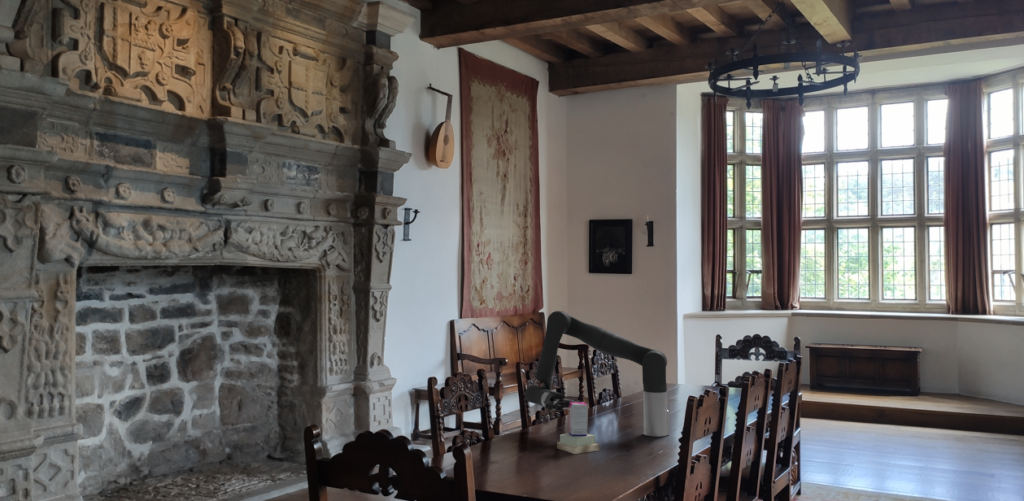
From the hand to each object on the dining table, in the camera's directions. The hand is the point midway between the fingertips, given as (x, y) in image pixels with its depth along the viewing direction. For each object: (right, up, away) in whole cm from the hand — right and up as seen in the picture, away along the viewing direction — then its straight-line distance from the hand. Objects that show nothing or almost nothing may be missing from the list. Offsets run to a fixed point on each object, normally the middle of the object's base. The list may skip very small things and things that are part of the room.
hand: (570, 407), depth 288 cm
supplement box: (+2, -9, -6) cm, 11 cm away
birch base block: (+2, -15, -7) cm, 16 cm away
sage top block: (+2, -12, -7) cm, 14 cm away
